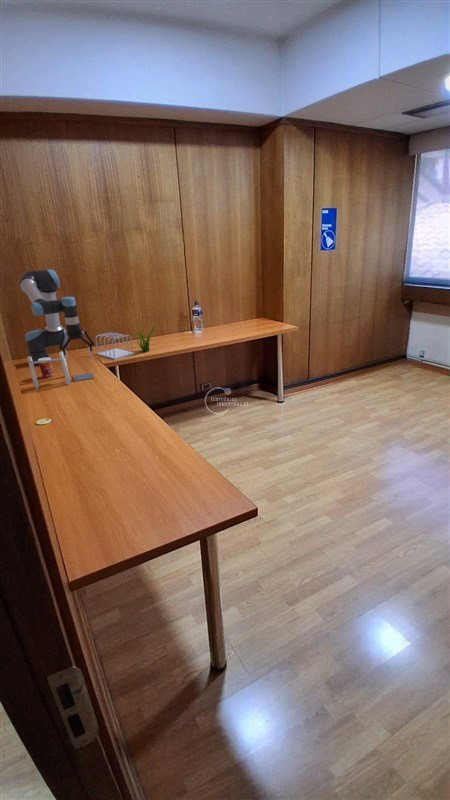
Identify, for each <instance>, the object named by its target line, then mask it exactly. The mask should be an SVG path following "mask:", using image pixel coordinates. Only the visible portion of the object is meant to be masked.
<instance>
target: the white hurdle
mask: <svg viewBox="0 0 450 800" xmlns="http://www.w3.org/2000/svg"><path fill="white" fill-rule="evenodd" d="M58 356H59V358H51V360H42V361H34V362H33V361H32V357H31V356H29V355H28V356H27V357H26V358H27V363H28V367H29V370H30V376H31V379H32V383H33V387H34V389H35V390H38V389H40V385H39V382H38V378H37V377H38V376H37V373H36V369H35V366H34V364H35V363H43V362H58V361H59V362H60V365H61V369H62V374H63V377H64V379H65V380H64V381H65V383H66V385H68V386H69V385H71V384H72V383H71V379H70V374H69V370H68V364H67V358H66V357H65V355H64V353H63V351H59V352H58Z"/></svg>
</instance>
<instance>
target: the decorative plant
mask: <svg viewBox="0 0 450 800" xmlns="http://www.w3.org/2000/svg"><path fill="white" fill-rule="evenodd" d="M156 311H157V310H156V309H155V312H156ZM154 315H155V313H153V315H152V316H154ZM152 320H153V326H152V328H151V330H150V331H149V333H148V335H147V337H145V334H144V329H143V326H141V331H140V329H139V326H140V323H137V331H138V336H139V337H138V336H137V335H136V334H135V333H134V335H133V336H134V337H137V338H135V339H136V343H137V344H138V346H139V348H140V349H141V350H142V353H149V352H150V341H151V337H152V335H153V334H154V331H155V326H156V320H155V318H154V317H152ZM137 321H138V322H140V321H139V319H137Z"/></svg>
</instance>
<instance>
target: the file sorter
mask: <svg viewBox="0 0 450 800" xmlns="http://www.w3.org/2000/svg"><path fill="white" fill-rule="evenodd" d="M98 337H99V344H100V351H101V352H99V348H98V342H97V338H98ZM103 337H104V338H103ZM128 337H129V340H130V345H131V351H130V350H129V349H130V348H129V342H128ZM102 338H103V345H104V350H103V347H102V340H101V339H102ZM107 338H108V339H107ZM120 338H122V339H121V340H122V347H123V349H121V345H120ZM124 338H126V339H125V340H126V345H127V347H126V348H127V350H125V342H124ZM105 339H107V346H108V350H107V348H106V340H105ZM110 339H112V340H111V345H112V349H111V347H110V343H109V342H110ZM117 339H118V341H117V342H118V347H119V348H117V345H116V340H117ZM95 346H96V351H97V353H96V356H99V357H103V358H107V359H110V360H113V361H117V360H120V359H124V358H127V357H132V356H135V352H134V349H133V348H134V347H133V341H132V337H131V335H126V334H121V333H116V332H114V333H113V332H112V331H111V332H106V333H101V334H97V335H96V336H95ZM114 346H115V347H114Z"/></svg>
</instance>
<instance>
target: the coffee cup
mask: <svg viewBox="0 0 450 800" xmlns="http://www.w3.org/2000/svg"><path fill="white" fill-rule="evenodd" d="M51 359H52V358H51V357H50V358H49V357H46V358H41V359H38V361H42V360H51ZM52 362H53V361H52ZM52 362H43V363H39V366H38V367H39V369H40V372H41V375H42V378H43V379H51V378H53V377H55V374H54V369H53V368H54V367H53V364H52Z"/></svg>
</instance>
